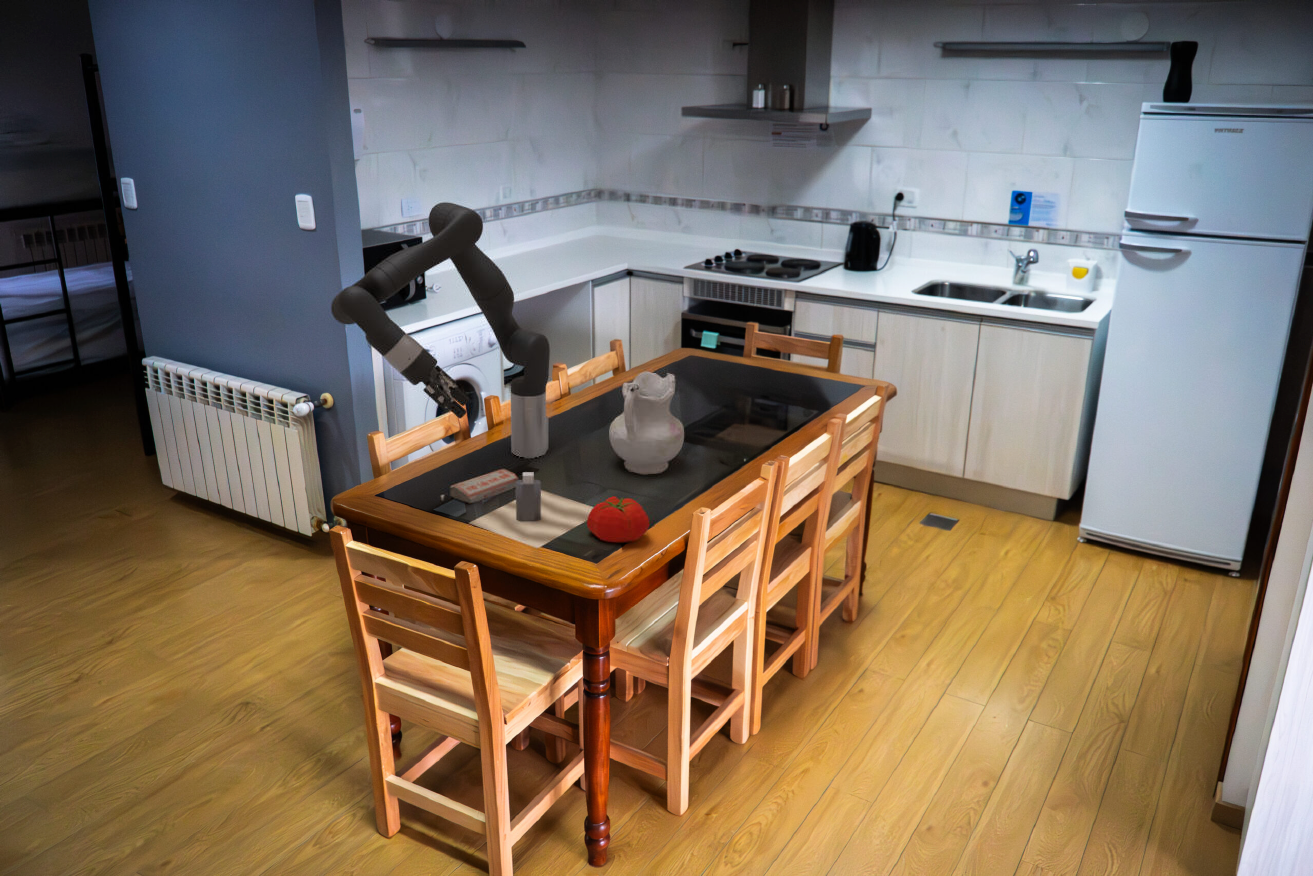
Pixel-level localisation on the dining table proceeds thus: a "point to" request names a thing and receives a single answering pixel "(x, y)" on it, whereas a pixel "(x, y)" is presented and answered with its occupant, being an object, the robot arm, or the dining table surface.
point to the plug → (528, 498)
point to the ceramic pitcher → (647, 425)
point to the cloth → (553, 522)
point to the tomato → (618, 520)
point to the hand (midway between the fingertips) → (465, 409)
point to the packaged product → (483, 486)
